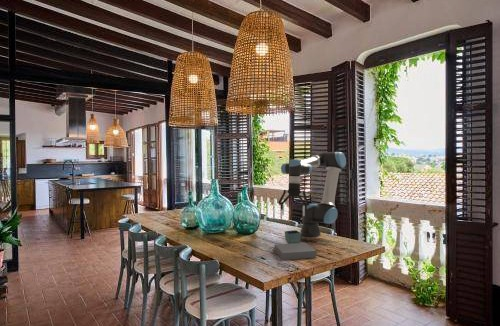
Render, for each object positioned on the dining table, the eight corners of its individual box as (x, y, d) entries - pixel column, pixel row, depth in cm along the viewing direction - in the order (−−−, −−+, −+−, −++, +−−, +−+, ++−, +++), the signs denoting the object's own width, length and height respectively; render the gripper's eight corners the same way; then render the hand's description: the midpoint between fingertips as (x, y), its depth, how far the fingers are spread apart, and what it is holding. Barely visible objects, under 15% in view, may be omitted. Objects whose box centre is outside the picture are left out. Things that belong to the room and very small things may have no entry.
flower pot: (289, 247, 222) (289, 233, 221) (284, 244, 230) (284, 231, 230) (301, 246, 224) (301, 232, 224) (296, 243, 232) (296, 230, 232)
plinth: (304, 248, 218) (304, 242, 218) (316, 257, 198) (316, 250, 198) (274, 250, 215) (274, 244, 215) (283, 260, 195) (282, 253, 195)
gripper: (275, 182, 219) (274, 215, 218) (314, 183, 218) (313, 216, 217) (275, 182, 226) (273, 213, 225) (312, 183, 226) (311, 215, 225)
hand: (293, 215), depth 221 cm, fingers open, 13 cm apart
